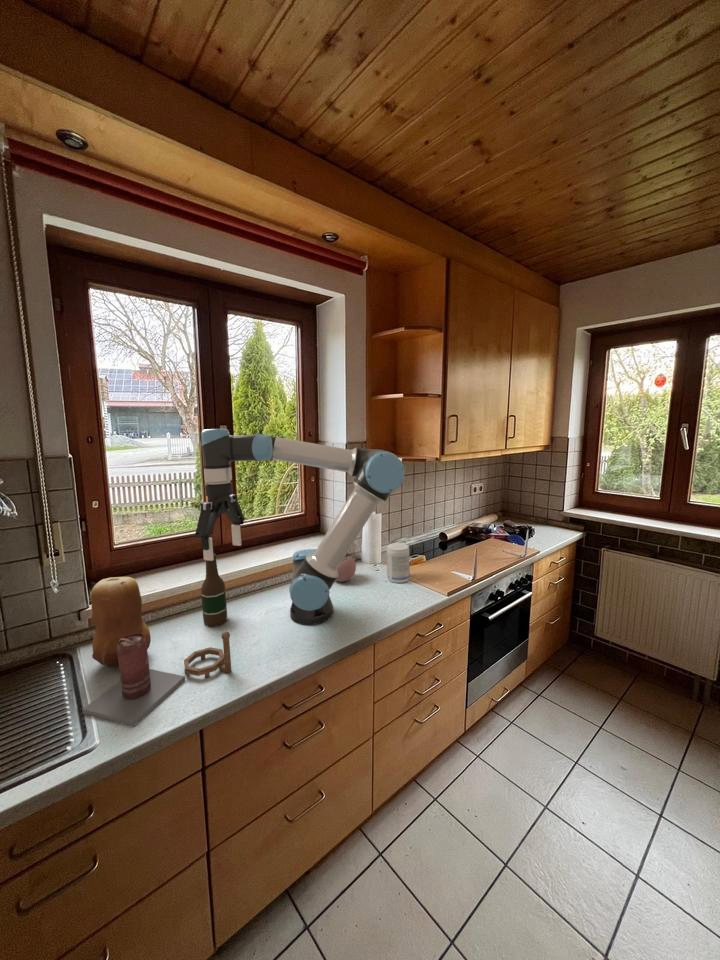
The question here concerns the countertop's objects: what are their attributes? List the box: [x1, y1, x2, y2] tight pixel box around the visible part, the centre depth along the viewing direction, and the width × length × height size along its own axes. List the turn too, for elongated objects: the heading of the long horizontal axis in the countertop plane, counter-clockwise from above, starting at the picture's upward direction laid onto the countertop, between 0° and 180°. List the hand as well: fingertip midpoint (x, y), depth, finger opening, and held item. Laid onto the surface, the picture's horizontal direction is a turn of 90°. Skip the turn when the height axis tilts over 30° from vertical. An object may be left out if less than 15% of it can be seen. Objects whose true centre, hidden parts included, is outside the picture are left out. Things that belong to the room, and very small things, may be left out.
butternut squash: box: [90, 576, 152, 668], centre depth 106 cm, size 14×13×25 cm
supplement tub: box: [386, 542, 411, 584], centre depth 161 cm, size 10×10×15 cm
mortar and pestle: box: [335, 557, 357, 583], centre depth 161 cm, size 12×12×11 cm
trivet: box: [81, 668, 186, 727], centre depth 94 cm, size 15×16×1 cm
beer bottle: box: [200, 552, 228, 628], centre depth 128 cm, size 8×8×24 cm
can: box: [117, 634, 151, 699], centre depth 93 cm, size 6×6×14 cm
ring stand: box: [183, 631, 232, 679], centre depth 104 cm, size 14×10×12 cm
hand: (223, 552), depth 113 cm, fingers open, 13 cm apart
